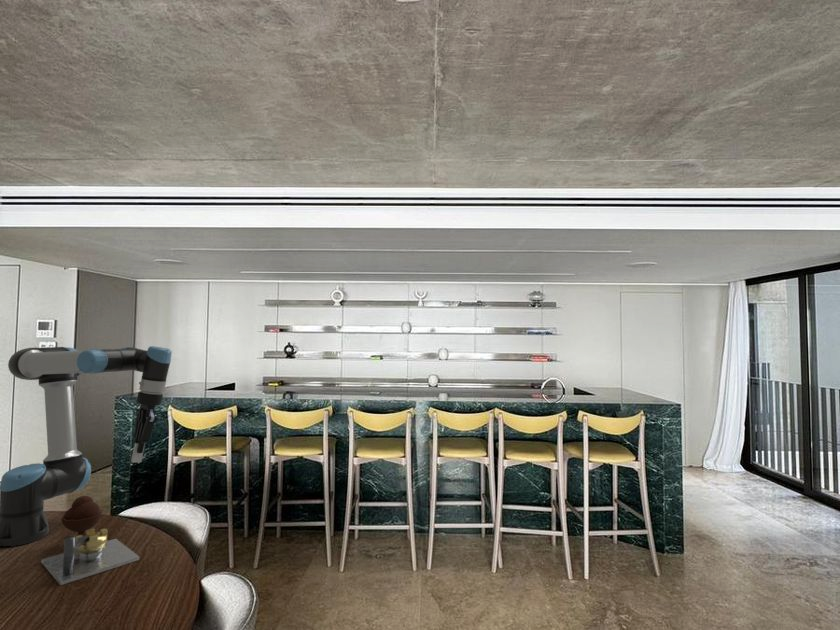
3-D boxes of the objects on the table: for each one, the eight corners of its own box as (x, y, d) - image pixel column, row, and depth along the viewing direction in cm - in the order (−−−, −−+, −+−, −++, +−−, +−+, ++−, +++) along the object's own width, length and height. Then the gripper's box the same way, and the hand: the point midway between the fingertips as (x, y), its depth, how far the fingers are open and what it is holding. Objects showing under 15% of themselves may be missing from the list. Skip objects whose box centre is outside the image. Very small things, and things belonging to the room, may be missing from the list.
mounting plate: (41, 562, 145) (42, 549, 145) (115, 541, 160) (116, 529, 160) (60, 585, 132) (61, 570, 132) (139, 559, 147) (139, 546, 148)
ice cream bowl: (51, 548, 154) (53, 501, 155) (83, 534, 165) (85, 490, 166) (78, 552, 152) (80, 504, 152) (108, 538, 163) (110, 493, 163)
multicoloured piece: (86, 551, 150) (88, 519, 151) (112, 551, 150) (113, 519, 151) (50, 574, 135) (52, 539, 136) (79, 574, 135) (80, 539, 136)
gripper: (132, 388, 165) (117, 457, 163) (145, 395, 156) (129, 468, 154) (156, 389, 170) (141, 456, 168) (169, 396, 161) (154, 466, 159)
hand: (136, 461), depth 161 cm, fingers closed
